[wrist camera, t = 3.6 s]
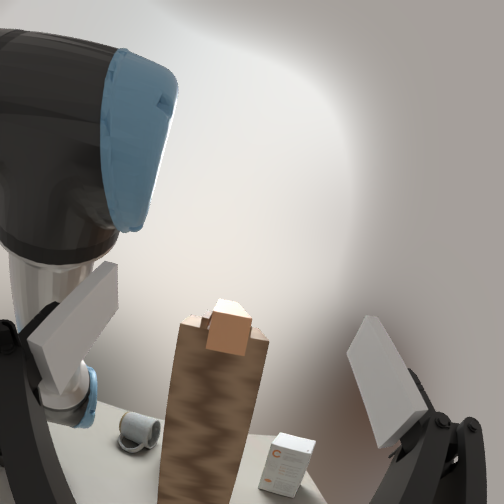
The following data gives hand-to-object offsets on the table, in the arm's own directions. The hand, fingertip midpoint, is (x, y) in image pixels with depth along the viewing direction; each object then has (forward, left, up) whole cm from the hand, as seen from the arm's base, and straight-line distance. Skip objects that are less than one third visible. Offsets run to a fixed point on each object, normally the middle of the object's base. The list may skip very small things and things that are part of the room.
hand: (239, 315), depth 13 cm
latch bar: (0, +19, -4) cm, 19 cm away
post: (0, +22, -40) cm, 45 cm away
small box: (+18, +34, -40) cm, 55 cm away
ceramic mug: (-14, +42, -40) cm, 60 cm away
